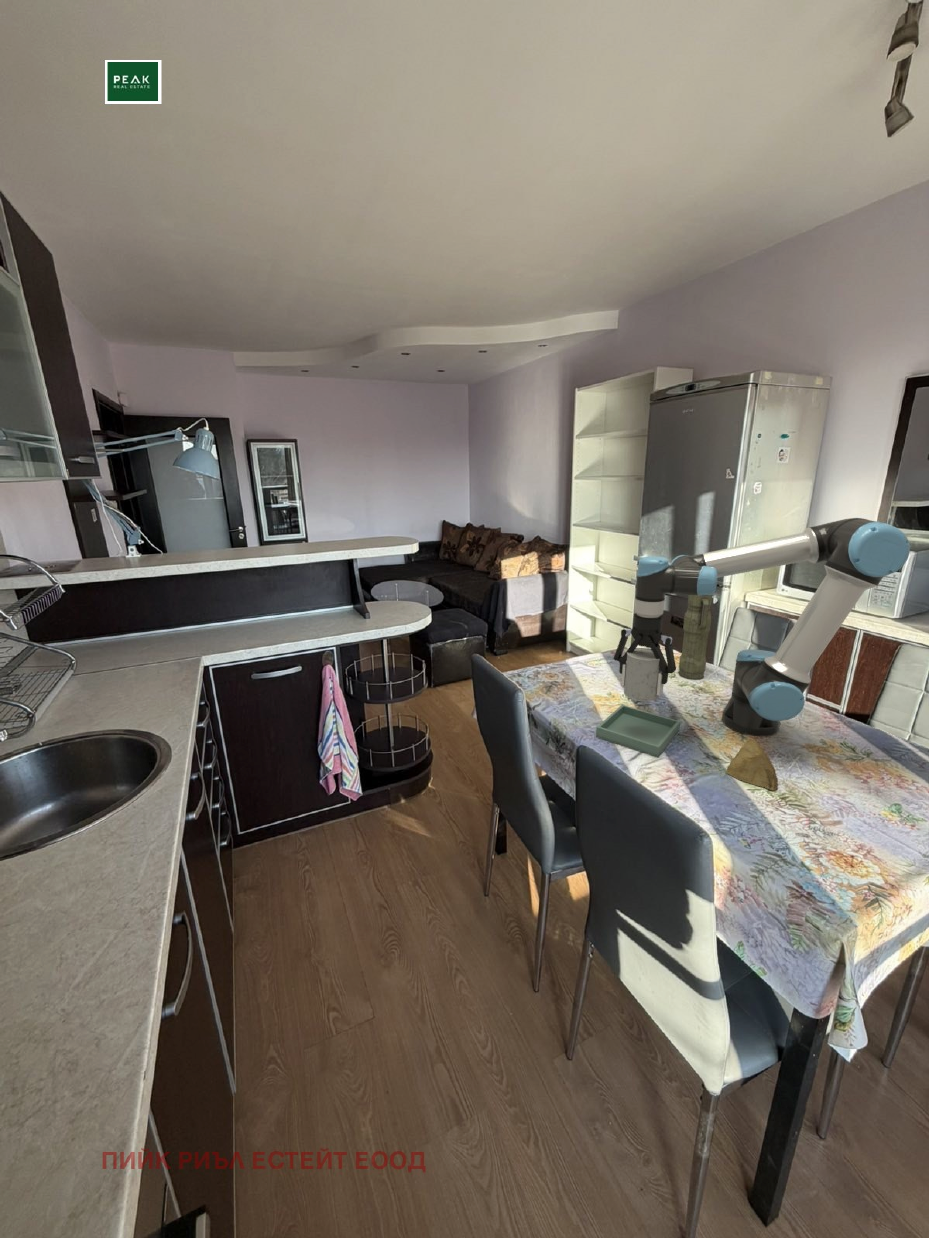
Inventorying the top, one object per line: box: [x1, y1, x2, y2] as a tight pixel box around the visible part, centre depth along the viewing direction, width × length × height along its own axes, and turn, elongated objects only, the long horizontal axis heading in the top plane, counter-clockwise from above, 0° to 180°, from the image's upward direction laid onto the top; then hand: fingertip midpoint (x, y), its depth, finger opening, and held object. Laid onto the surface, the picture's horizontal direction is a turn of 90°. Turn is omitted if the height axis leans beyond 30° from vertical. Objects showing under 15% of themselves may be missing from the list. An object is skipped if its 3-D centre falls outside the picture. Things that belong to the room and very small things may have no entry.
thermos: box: [678, 594, 713, 681], centre depth 183 cm, size 9×12×35 cm
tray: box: [595, 704, 681, 759], centre depth 149 cm, size 18×18×3 cm
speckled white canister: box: [623, 647, 661, 702], centre depth 144 cm, size 10×10×12 cm
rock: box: [724, 738, 779, 791], centre depth 125 cm, size 11×9×10 cm
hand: (641, 688), depth 145 cm, fingers closed on speckled white canister, 9 cm apart
